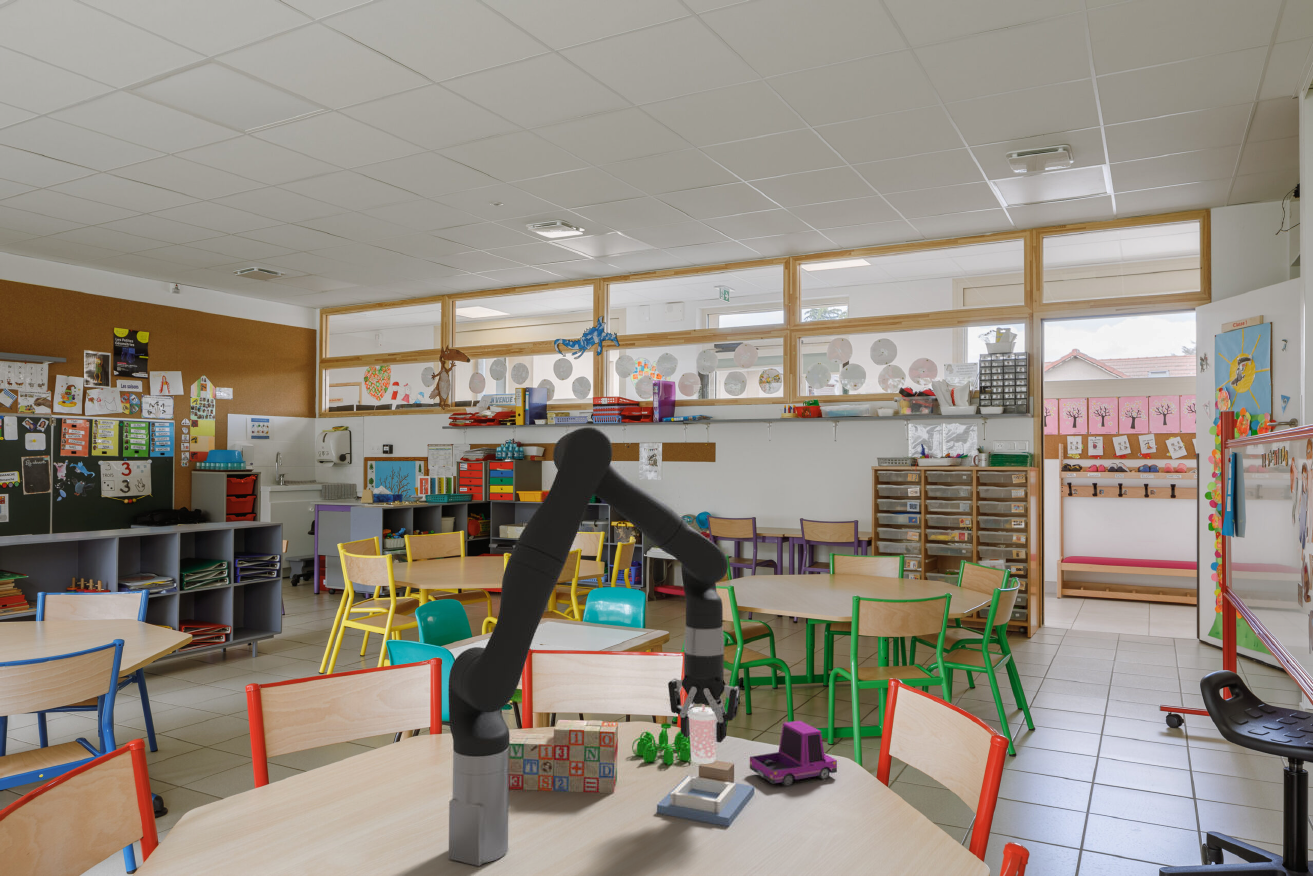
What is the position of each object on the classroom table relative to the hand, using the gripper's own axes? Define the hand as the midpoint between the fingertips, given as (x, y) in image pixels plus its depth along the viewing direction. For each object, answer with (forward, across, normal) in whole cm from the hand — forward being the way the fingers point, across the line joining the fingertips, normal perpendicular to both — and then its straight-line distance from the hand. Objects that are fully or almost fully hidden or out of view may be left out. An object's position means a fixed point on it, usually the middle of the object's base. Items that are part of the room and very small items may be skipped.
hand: (703, 738), depth 158 cm
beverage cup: (+4, 0, 0) cm, 4 cm away
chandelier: (+13, -17, +23) cm, 32 cm away
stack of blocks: (+13, -29, -2) cm, 32 cm away
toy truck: (+13, +12, +22) cm, 29 cm away
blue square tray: (+13, 0, +2) cm, 13 cm away
